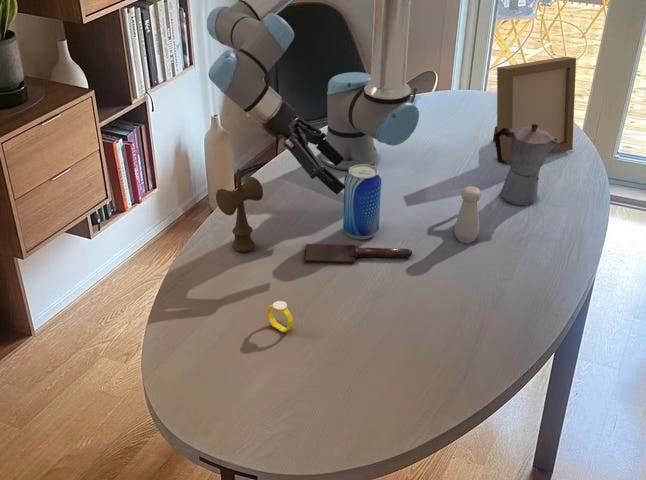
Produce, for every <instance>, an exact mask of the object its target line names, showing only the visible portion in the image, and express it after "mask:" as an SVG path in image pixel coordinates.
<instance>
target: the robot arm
mask: <svg viewBox="0 0 646 480" xmlns="http://www.w3.org/2000/svg"><path fill="white" fill-rule="evenodd" d="M294 1H295V0H237V1H236V2H235V3H233V4H232V5H231V6H222V5H219V6H217V7H214V8H213V9H212V10H211V11H210V12H209V14H208V16H207V19H206V29H207V32H208V35H210V37H211V38H212V39H213V40H215V41H216V42H218V43H220V44H221V45H222V46H226V47H228V48H231V49H227V50H225V51H224V52H223V53H221V54H220V56H219V57H218V58H217V59H215V61H214V62H213V64H212V65H211V66H210V68H209V70H208V73H207V75H208V78H209V80H210V81H211V82H212V83H213V84H214V85H215V86H216V88H218V89H219V90H220V92H221V93H223V94H224V95H225V96H227V97H228V98H229V99H230V100H231V101H232V102H233V103H234V104H235V105H236V106H237V107H239V108H240V109H241V110H243V112H245V113H246V116H247V118H248V119H252V120H253V121H254V122H256V123H257V124H258V125H261V128H262V129H263V130H264V131H265V132H266V133H267V134H268V135H270V136H271V137H274V138H276V137H278V136H282V137H283V138H284V140H285V141H284V142H283V143H282V145H283V146H284V147H285V148H286V150H288V151H289V152H290V154H291V155H292V156H293V158H295V160H296V161H297V162H298V164H299V165H300V166H301V167H302V168H303V170H304V171H305V172H306V174H307V175H308V176H309V178H310V179H311V180H314V179H316V178H317V179H318V180H319V181H320V182H321V183H323V184H324V185H325V186H326V187H327V188H328V189H329V190H330V191H331V192H333V194H335V195H338V194H339V193H341V192H342V191H344V188H345V185H344V182H342V181H341V180H340V179H339V178H338V177H337V176H336V175H334V174H333V173H332V172H331V171H330V169H328V168H327V167H326V166H328V167H330V168H332V169H334V170H338V171H339V170H340V171H349V168H350V167H352V166H354V165H359V164H366V165H371V166H373V165H374V164H375V163H376V162H377V150H376V146H375V143H374V140H376V141H377V142H379V143H381V144H385V145H388V146H391V147H394V146H399V145H401V144H403V143H404V142H406V141H407V140H408V139H409V138H410V137H411V135H412V134H413V133H414V132H415V130H416V128H417V127H418V123H419V120H420V110H419V108H418V107H417V105H416V104H415V103H414V101H415V99H416V95H417V91H418V88H417V87H414V88H413V92H412V88H411V87H410V85H409V84H408V82H406V79H407V78H406V77H407V64H408V63H407V62H408V47H409V31H410V16H411V14H410V13H411V2H412V1H411V0H372V1H373V3H372V26H371V27H372V29H371V52H370V54H371V55H370V73H366V72H360V71H359V72H358V71H354V72H353V71H352V72H344V73H339V74H336V75H334V76H332V77H331V78H330V79H329V80H328V83H327V92H326V97H327V98H326V99H327V101H326V102H327V104H326V105H327V106H326V107H327V109H326V111H327V115H326V116H327V132H326V133H325V132H323V131H322V130H321V129H319V128H318V127H316V126H315V125H313V124H311V123H310V122H308V121H307V120H305V119H303V118H302V117H300V116H299V115H298V114H297V113H296V110H295V108H294V107H292V105H291V104H289V103H288V102H287V101H286V100H283V98H282V96H281V95H280V94H279V93H278V92H277V91H276V90H274V89H273V88H272V87H271V86H270V85H269V84H267V82H266V81H265V80H264V78H265V77H266V75H267V74H269V72H270V71H271V69H272V68H273V67H274V66H275V64H276V63H277V62H278V61H279V60H280V58H281V57H282V56H283V55H284V54H285V53H286V52H287V49H288V48H289V47H290V45H291V43H292V42H293V41H294V39H295V32H294V30H293V28H292V26H291V25H290V24H289V23H288V21H286V20H285V19H284V18H283V17H281V16H280V15H278V14H280V13H281V12H282V11H283V10H285V9H286V8H287V7H288V6H289V5H290V4H292V3H293V2H294ZM232 49H233V50H236V52H235V51H233V50H232ZM411 95H412V98H411ZM309 144H312V145H315V146H316V147H315V148H316V150H318V151H319V152H320V160H321V162H322V163H323V164H324V165H326V166H323V165H322V164H321V163H320V161H319V160H318V158H317V157H316V155H315V154H314V152H313V151H312V149H311V148H310V146H309Z"/></svg>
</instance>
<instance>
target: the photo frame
mask: <svg viewBox="0 0 646 480" xmlns="http://www.w3.org/2000/svg"><path fill="white" fill-rule="evenodd" d="M576 69H577V57H573V56H561V57H554V58H553V57H552V58H548V59H542V60H534V61H529V62H523V63H516V64H511V65H503V66H498V67H496V76H497V77H496V85H497V86H496V96H497V97H496V126H494V132H493V137H492V142H495V141H494V135H495V134H496V133H498V131H500V130H501V129H503V128H507V129H514V130H517V129H518V128H520V127H532V124H536V125H538V128H539V129H542V130H544V131H547V132H548V133H549V134H550V136H553V137H555V138H556V139H558V141H559V143H557V144H556V145H555V146H554V147H553V149H552V150H551V151H550V152H549V154H548V155H552V154H558V153H562V152H563V153H564V152H567V151H572V150H573V148H574V147H573V145H574V123H575V122H574V121H575V120H574V119H575V95H576ZM499 139H500V146H501V155H502V159H503V160H507V161H508V162H507V164H510V162H511V159H510V158H511V146H512V138H509V137H507V136H505V135H501V136H500V137H499ZM548 155H547V156H548ZM496 161H498V158H497V157H496Z"/></svg>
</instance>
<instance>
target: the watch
mask: <svg viewBox="0 0 646 480" xmlns="http://www.w3.org/2000/svg"><path fill="white" fill-rule="evenodd" d="M273 311H275V312H277V313H282V314H283V315H284V317H285V319H286V322H287V327H285V326H284V325H282V323H281V324H280V323H279V322H278V321H277V320H276V318H275V317H274V314H273ZM266 318H267V320H268V322H269V324H270V325H271V327H273V328H274V329H276V330H277V331H280V332H281V333H287V332H289V330H291V329H292V328H293V326H294V319H293V318H294V317H293V315H292V313H291V312H290V310H289V309H288V304H287V302H285V301H283V300H277V301H274V302H273V303H272V304H271V305H269V306H268V307H267V308H266Z"/></svg>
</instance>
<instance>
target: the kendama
mask: <svg viewBox="0 0 646 480" xmlns="http://www.w3.org/2000/svg"><path fill="white" fill-rule="evenodd" d="M263 196H264V191H263V186H262V184H261V182H260V181H259V180H258V179H257V178H256V177H254V176H248V177H246V178H245V179H244V181H243V182H242V177H241V171H240V169H239V168H237V169H236V189H234V190H228V189H225V188H220V189H217V190H216V192H215V200H216V204H217V206H218V207H217V208H218V209H219V210H220V211H221V212H222V213H223V214H224V215H226V216H234V214H235V213H236V219H235V225H234V227H233V228H232V230H231V231H232V233H233V236H234V240H233V242H232V243H231V248H232V250H234V251H235V252H238V253H248V252H250V251H251V250H253V249H254V248H255V246H256V244H255V241H253V239H252V237H251V236H252V233H253V227H252V226H251V225H249V222H248V217H247V214H246V209H245V203H244V202H245V201H248V200H249V201H254V202H255V201H257V202H258V201H261V200H262V199H263Z"/></svg>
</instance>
